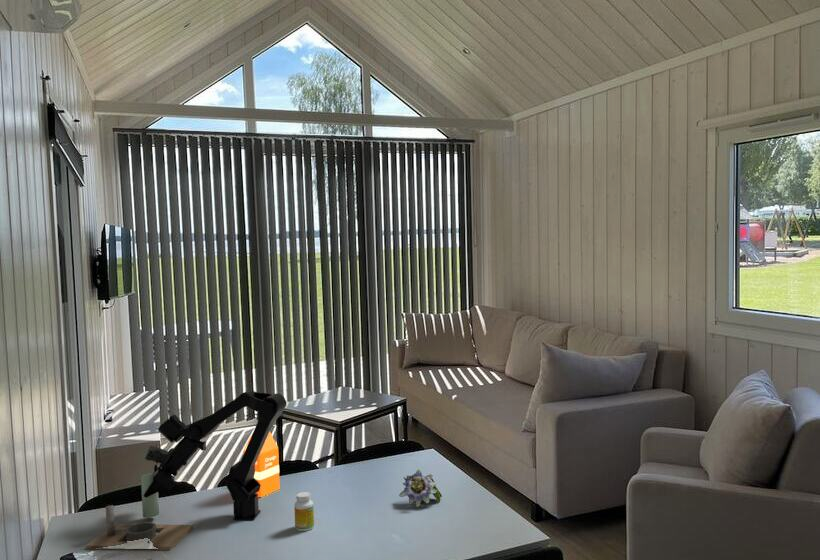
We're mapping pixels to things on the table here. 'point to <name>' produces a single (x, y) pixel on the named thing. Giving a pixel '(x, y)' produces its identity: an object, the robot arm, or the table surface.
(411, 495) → the passion flower
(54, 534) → the table surface
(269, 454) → the orange juice
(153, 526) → the ring holder
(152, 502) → the pale green cylinder
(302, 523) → the supplement bottle
